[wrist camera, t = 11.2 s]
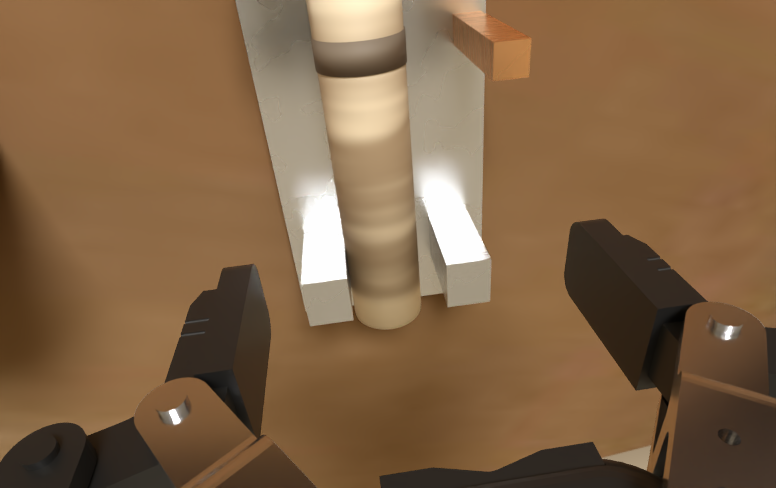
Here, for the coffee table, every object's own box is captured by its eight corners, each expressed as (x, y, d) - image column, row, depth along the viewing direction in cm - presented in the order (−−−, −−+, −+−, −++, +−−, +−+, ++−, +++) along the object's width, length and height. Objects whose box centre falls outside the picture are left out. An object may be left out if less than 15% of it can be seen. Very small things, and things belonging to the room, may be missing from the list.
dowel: (417, 282, 28) (426, 325, 25) (353, 289, 28) (354, 333, 25) (387, -184, 17) (396, -206, 14) (281, -173, 17) (267, -193, 14)
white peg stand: (306, 300, 29) (302, 395, 23) (195, -198, 17) (130, -259, 11) (476, 277, 30) (513, 365, 24) (482, -223, 18) (561, -295, 12)
